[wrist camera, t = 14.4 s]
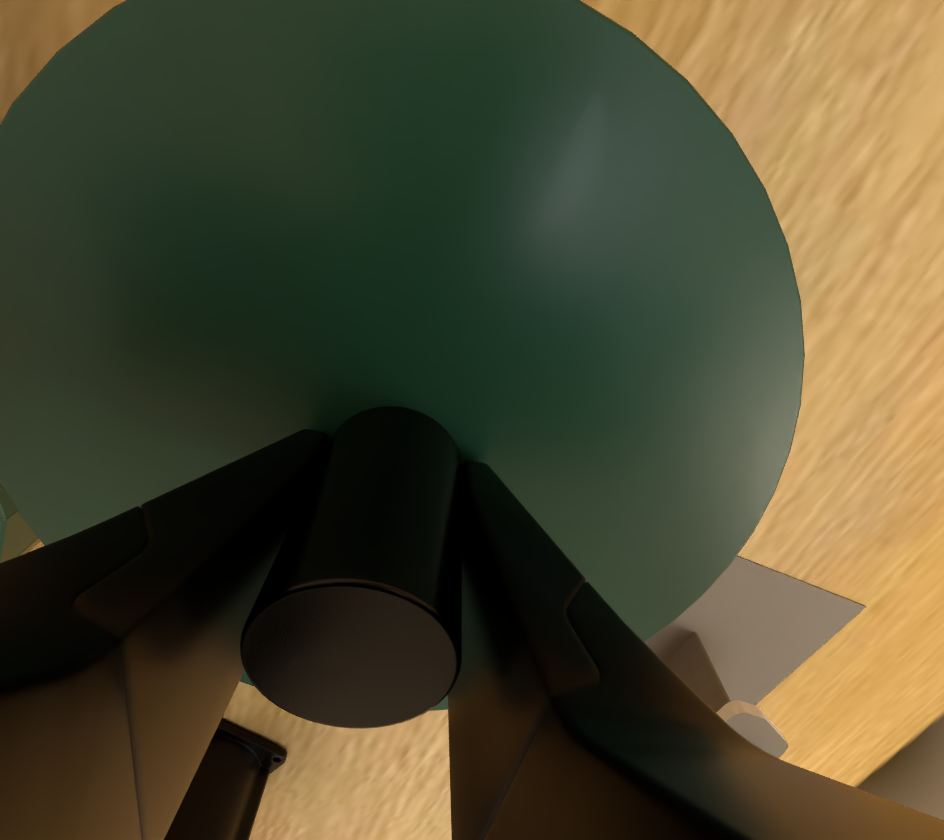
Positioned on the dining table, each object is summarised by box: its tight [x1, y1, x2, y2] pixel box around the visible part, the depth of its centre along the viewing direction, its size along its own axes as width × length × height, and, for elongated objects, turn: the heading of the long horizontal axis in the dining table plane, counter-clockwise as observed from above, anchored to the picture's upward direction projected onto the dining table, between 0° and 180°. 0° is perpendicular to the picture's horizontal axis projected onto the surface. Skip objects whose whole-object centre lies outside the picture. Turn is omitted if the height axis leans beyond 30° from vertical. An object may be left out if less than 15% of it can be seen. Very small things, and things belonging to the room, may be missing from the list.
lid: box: [0, 0, 805, 728], centre depth 8 cm, size 14×14×5 cm
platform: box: [645, 556, 866, 758], centre depth 25 cm, size 12×18×7 cm, turn 155°
